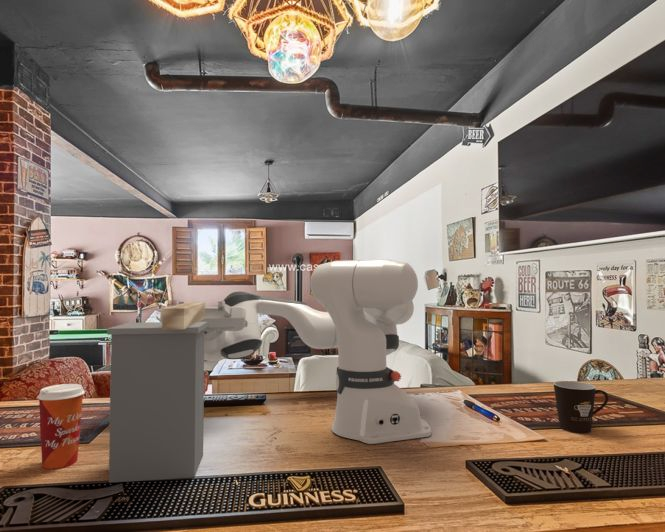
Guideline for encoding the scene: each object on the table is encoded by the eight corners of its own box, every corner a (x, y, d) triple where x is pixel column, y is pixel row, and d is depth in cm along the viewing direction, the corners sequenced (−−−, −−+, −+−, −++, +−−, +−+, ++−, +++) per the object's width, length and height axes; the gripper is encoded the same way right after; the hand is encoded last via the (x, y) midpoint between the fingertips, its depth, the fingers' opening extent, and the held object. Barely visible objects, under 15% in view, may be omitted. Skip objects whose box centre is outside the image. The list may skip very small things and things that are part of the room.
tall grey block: (206, 453, 87) (207, 321, 88) (196, 478, 76) (198, 327, 77) (126, 458, 85) (128, 322, 86) (104, 484, 74) (107, 328, 75)
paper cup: (48, 475, 77) (50, 394, 78) (27, 465, 81) (29, 389, 82) (92, 460, 84) (94, 386, 84) (71, 451, 88) (72, 381, 88)
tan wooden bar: (204, 318, 96) (205, 302, 97) (183, 329, 74) (184, 308, 74) (188, 318, 96) (188, 302, 96) (162, 329, 73) (162, 308, 73)
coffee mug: (555, 432, 99) (555, 387, 99) (552, 421, 107) (551, 379, 107) (616, 439, 95) (615, 392, 95) (608, 427, 103) (607, 383, 103)
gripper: (247, 338, 114) (245, 315, 103) (165, 340, 111) (153, 316, 100) (248, 316, 117) (246, 291, 106) (168, 317, 115) (157, 292, 103)
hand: (200, 304), depth 103 cm, fingers open, 8 cm apart
